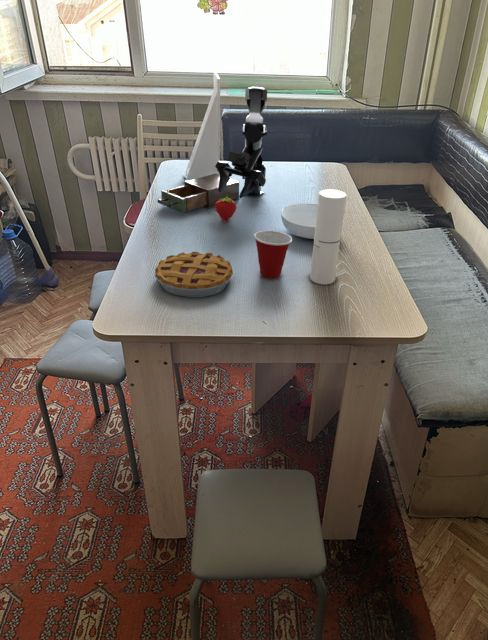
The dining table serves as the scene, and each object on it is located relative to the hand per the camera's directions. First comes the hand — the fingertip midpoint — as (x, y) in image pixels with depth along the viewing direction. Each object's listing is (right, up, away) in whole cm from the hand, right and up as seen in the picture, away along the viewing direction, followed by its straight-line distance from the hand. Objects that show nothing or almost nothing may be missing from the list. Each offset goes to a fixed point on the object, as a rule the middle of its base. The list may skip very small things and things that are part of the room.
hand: (229, 194), depth 182 cm
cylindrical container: (+29, -33, -29) cm, 52 cm away
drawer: (-18, 0, +13) cm, 22 cm away
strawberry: (-2, -8, +4) cm, 10 cm away
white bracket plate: (-14, +18, +41) cm, 47 cm away
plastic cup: (+14, -32, -28) cm, 44 cm away
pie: (-8, -34, -33) cm, 49 cm away
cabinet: (-8, +5, +22) cm, 24 cm away
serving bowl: (+28, -14, -1) cm, 31 cm away
